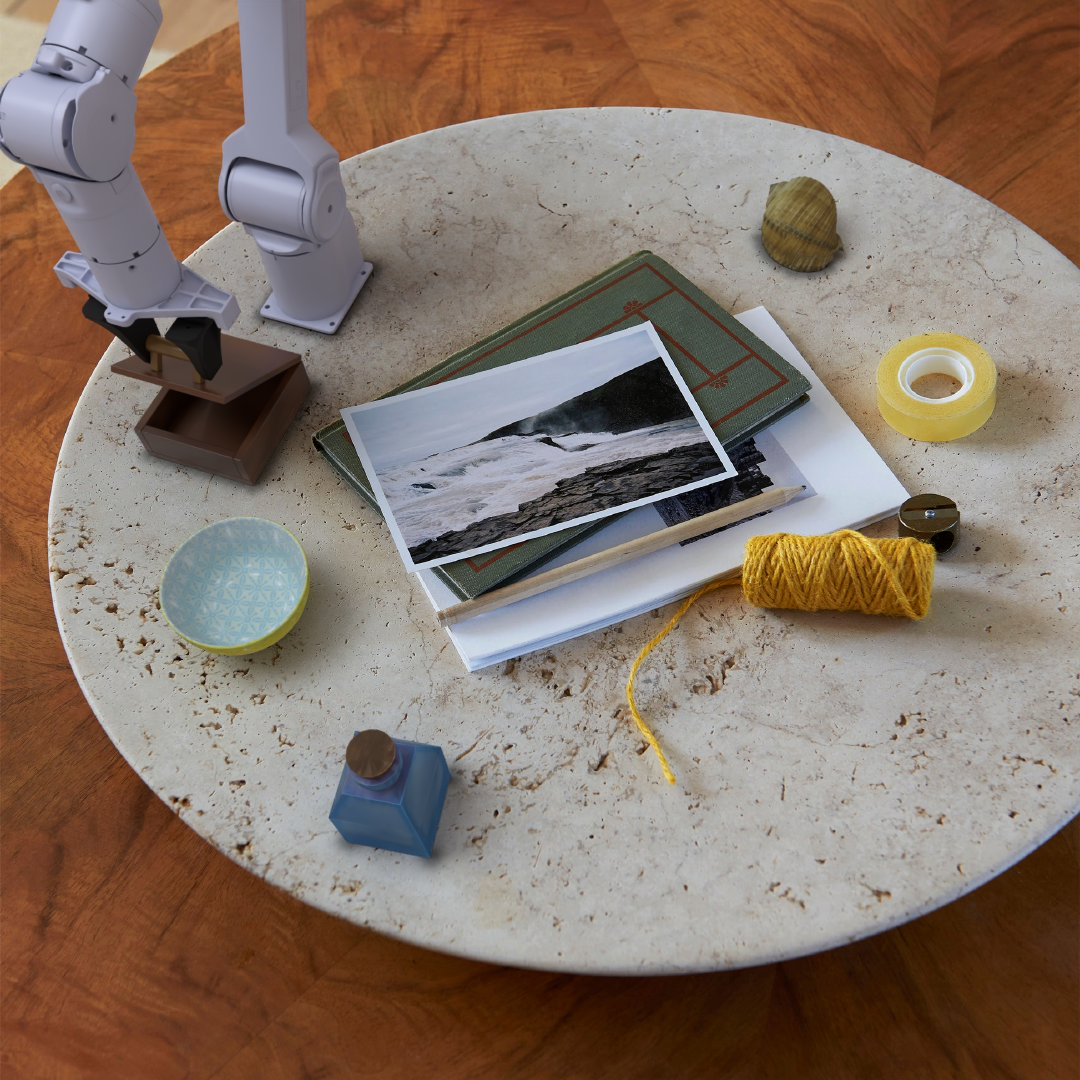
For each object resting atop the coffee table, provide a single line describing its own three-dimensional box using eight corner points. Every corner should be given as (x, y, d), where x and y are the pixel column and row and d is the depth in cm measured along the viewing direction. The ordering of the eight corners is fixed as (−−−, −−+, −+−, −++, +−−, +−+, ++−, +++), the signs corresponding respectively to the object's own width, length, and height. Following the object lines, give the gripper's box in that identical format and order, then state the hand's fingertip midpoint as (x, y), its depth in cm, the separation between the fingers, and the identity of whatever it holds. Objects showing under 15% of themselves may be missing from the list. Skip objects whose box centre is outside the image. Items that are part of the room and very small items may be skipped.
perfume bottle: (429, 858, 74) (404, 809, 64) (346, 841, 75) (308, 791, 65) (450, 775, 77) (430, 715, 67) (370, 760, 78) (337, 698, 68)
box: (253, 486, 91) (240, 461, 88) (148, 454, 93) (132, 429, 90) (312, 387, 96) (302, 360, 93) (212, 359, 99) (199, 332, 95)
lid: (224, 404, 83) (224, 363, 81) (110, 372, 85) (108, 331, 83) (301, 360, 93) (302, 323, 91) (198, 332, 95) (197, 295, 93)
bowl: (201, 702, 81) (174, 670, 75) (172, 582, 86) (145, 544, 81) (342, 651, 83) (325, 615, 77) (304, 536, 88) (286, 496, 83)
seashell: (823, 286, 106) (874, 217, 102) (807, 289, 100) (861, 216, 96) (748, 230, 108) (795, 161, 104) (728, 230, 102) (778, 156, 98)
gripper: (0, 251, 73) (80, 376, 85) (180, 299, 70) (237, 422, 82) (57, 185, 76) (126, 315, 88) (230, 228, 73) (279, 356, 85)
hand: (183, 362), depth 85 cm, fingers closed on lid, 5 cm apart
